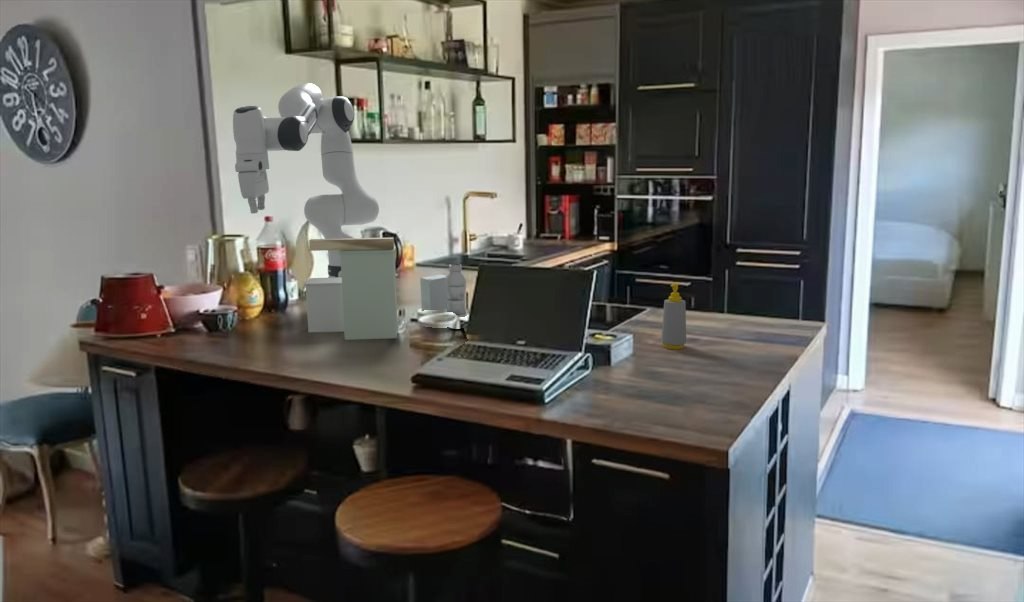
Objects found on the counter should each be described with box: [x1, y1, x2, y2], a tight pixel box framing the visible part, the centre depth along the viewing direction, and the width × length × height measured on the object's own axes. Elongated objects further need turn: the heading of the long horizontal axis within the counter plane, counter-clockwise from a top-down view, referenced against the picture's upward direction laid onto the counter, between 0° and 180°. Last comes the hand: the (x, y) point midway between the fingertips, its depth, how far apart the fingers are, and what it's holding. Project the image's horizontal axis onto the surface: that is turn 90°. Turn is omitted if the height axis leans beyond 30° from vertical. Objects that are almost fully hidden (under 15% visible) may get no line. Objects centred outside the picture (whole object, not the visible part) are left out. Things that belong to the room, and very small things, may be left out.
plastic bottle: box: [445, 263, 468, 317], centre depth 244 cm, size 6×7×20 cm
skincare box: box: [419, 273, 448, 312], centre depth 254 cm, size 8×6×15 cm
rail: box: [308, 237, 395, 252], centre depth 233 cm, size 3×24×3 cm, turn 96°
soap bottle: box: [660, 281, 687, 350], centre depth 220 cm, size 7×7×18 cm
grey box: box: [304, 277, 344, 334], centre depth 247 cm, size 10×12×15 cm
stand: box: [339, 245, 399, 341], centre depth 236 cm, size 10×16×26 cm, turn 96°
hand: (258, 211), depth 235 cm, fingers open, 8 cm apart
